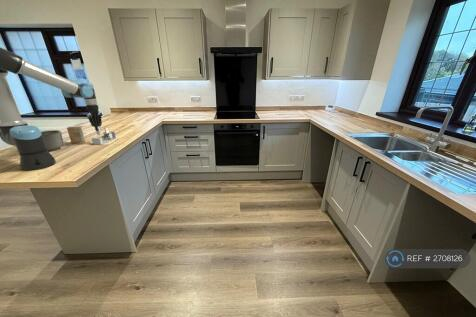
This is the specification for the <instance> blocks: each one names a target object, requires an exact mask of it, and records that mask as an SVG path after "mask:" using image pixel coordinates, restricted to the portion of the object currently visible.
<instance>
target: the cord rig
mask: <svg viewBox="0 0 476 317" xmlns="http://www.w3.org/2000/svg"><path fill="white" fill-rule="evenodd" d="M109 132H111V133H112V137H113V138H111V139H105V138H106V137H108V134H107V135H104V134H103V135H102V136H101V135H100V136H99V137H95V136H94V137H92V138H91V142H92V144H91V145H94V146H97V145H98V146H102V145H104V144H108V143H110V142H112V141H114V139H115V140H117V139H116V138H117V137H116V132H115V131H109ZM109 141H110V142H109Z"/></svg>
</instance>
